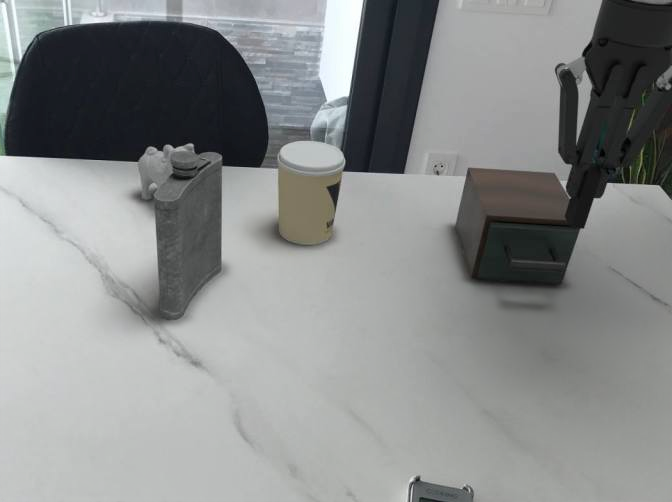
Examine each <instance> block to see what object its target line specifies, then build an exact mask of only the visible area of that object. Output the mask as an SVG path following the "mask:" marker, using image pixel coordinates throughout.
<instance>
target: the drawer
mask: <svg viewBox="0 0 672 502" xmlns="http://www.w3.org/2000/svg"><path fill="white" fill-rule="evenodd" d="M578 232H579V233H580V231H578V229H577V228H571V227H567V225H550V224H535V225H532V224H516V223H500V221H491V222H490V223H489V227H488V231H487V235H486V239H485V243H484V247H483V251H482V255H481V259H480V263H479V267H478V271H477V275H478V278H488V279H505V280H522V281H539V282H556V283H562V284H563V282H562V280H563V281H564V279H563V277H564V278H565V276H564V274H565V275H566V273H565V271H566V272H567V270H566V268H567V269H568V267H567V265H568V266H569V264H568V262H569V263H570V261H569V259H570V260H571V258H570V256H571V257H572V255H571V253H572V254H573V252H572V250H573V251H574V249H573V247H574V248H575V246H574V244H575V245H576V243H575V241H576V242H577V240H576V238H577V239H578V237H577V235H578V236H579V234H578Z"/></svg>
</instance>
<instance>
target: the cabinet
mask: <svg viewBox="0 0 672 502" xmlns="http://www.w3.org/2000/svg"><path fill="white" fill-rule="evenodd" d="M466 171H467V172H466V175H465V180H464V184H463V189H462V194H461V198H460V202H459V207H458V211H457V216H456V220H455V225H454V230H455V233H456V235H457V238H458V242H459V245H460V248H461V252H462V254H463V258H464V261H465V265H466V267H467V270H468V273H469V276H470V279H472V280H485V281H486V280H487V281H488V280H489V281H504V282H505V281H506V282H522V283H537V284H538V283H539V284H553V285H554V284H556V285H562V284H563V282H564V279H565V277H566V274H567V273H566V272H567V269H568V267H569V264H570V261H571V258H572V255H573V253H574V250H575V249H574V248H575V246H576V243H577V240H578V237H579V234H580V231H581V228H577V229H578V231H579V232H578V235H577V238H576V241H575V244H574V247H573V250H572V253H571V256H570V259H569V262H568V265H567V268H566V271H565V274H564V277H563V280H562V283H556V282H539V281H522V280H505V279H488V278H478V275H477V271H478V267H479V263H480V259H481V255H482V251H483V247H484V243H485V239H486V235H487V231H488V227H489V223H490V222H491V221H501V222H517V223H534V224H550V225H567V227H570V225H569V224H568V222H567V220H566V218H565V214H566V210H567V207H568V204H569V201H570V197H569V195H568V193H567V192H566V189H565V188H564V186H563V184H562V183H561V181H560V179H559V177H558V176H557V174H556V173H555V172H548V171H547V172H546V171H530V170H513V169H500V168H499V169H497V168H483V167H467V170H466Z"/></svg>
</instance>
